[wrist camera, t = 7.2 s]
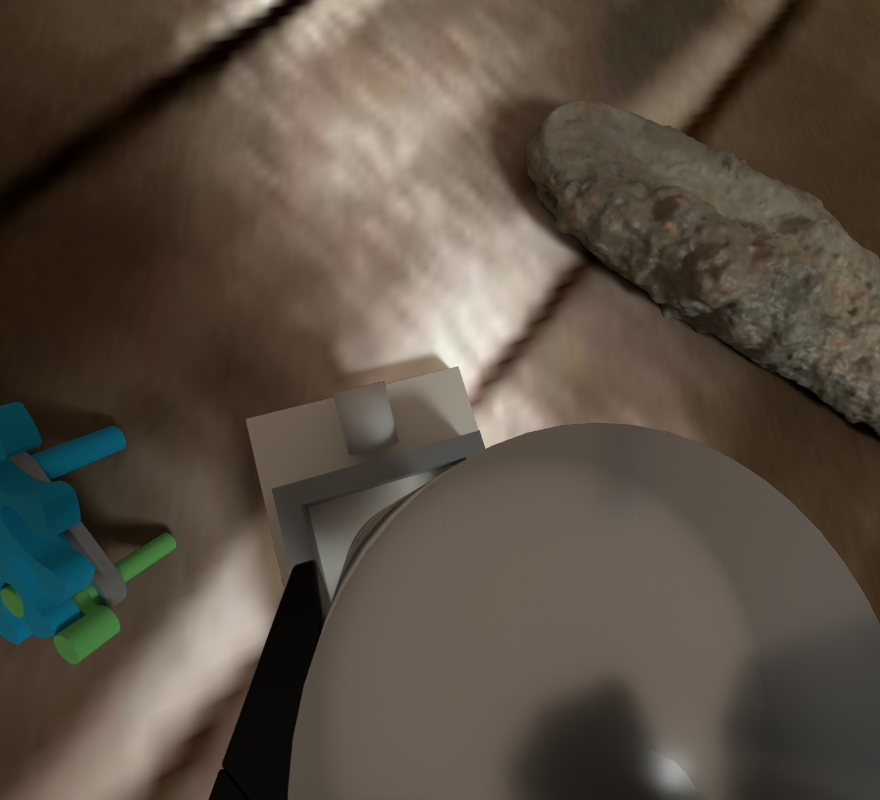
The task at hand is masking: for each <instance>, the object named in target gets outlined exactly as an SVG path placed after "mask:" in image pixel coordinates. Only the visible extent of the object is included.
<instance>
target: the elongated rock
mask: <svg viewBox="0 0 880 800" xmlns="http://www.w3.org/2000/svg"><path fill="white" fill-rule="evenodd" d="M526 160H527V166H528V167H527V168H528V169H527V170H528V175H529V176H530V178H531V179H532V181H533V182H535V186H536V187H537V196H538V199H539V201H540V202H543V203H544V205H545V207H546V208H547V209H548V210H549V211H551V212H552V213H553V215H554V216H555V217H557V221H556V223H555V226H556V228H557V229H558V230H559V231H561V232H562V233H564V234H573V235H574V236H576V237H577V238H578V239H579V240H580V241H581V243H582V244H583V245H584V246H585V247H586V248H587V249H588V250H589V251H590V252H591V253H592V254H594V255H595V256H596V257H597V258H598V259H599V260H601V261H602V262H603V264H604V265H605V266H606V267H607V268H609V269H610V270H614V271H616V272H617V273H618V274H619V275H621V276H623V277H624V278H626V279H628V280H630V281H631V282H632V283H633V284H634V285H635V286H638V287H640V288H642V289H644V290H645V291H647V292H648V293H649V295H650V297H651V299H652V300H653V301H654V302H655V303H656V304H660V305H661V310H662V315H663V317H664V318H665V319H678V320H685V321H686V322H688V323H689V324H690V325H691V326H692V327H693V328H694V329H695V331H696V332H697V333H709V334H713V335H715V336H716V337H718V338H719V339H721V340H722V341H724V342H725V343H727V344H728V345H730V346H731V347H732V348H733V349H735V350H737V351H738V352H740V353H742V354H743V355H745V356H747V357H748V358H750V359H751V360H752V361H753V362H756V363H757V364H758V365H760V366H761V367H762V368H766V369H769V370H770V372H776V373H778V374H780V375H781V376H783V377H785V378H787V379H789V380H794V381H796V382H797V384H798V385H801V386H804V387H806V388H808V389H810V390H812V391H813V392H814V393H816V394H817V396H818V397H819V398H820V399H821V400H822V401H823V402H825V403H827V404H829V405H830V406H831V407H832V408H833V409H834V410H835V411H837V412H840V413H841V414H843V415H844V417H845V419H846V420H848V421H849V422H851V423H857V422H863V423H865V424H867V425H868V426H869V427H871V428H873V429H874V431H875V432H877V434H878V435H879V437H880V259H879V258H878V256H877V255H876V254H875V253H873V252H872V251H870V250H867V249H865V248H864V247H862V246H861V245H859V244H858V243H857V242H856V241H855V240H853V239H852V238H851V237H850V236H849V235H848V234H847V232H846V231H845V230H844V229H843V228H842V227H841V224H840V222H839V221H838V220H836V218H835V217H834V216H833V215H831V214H830V213H829V212H828V211H827V210H826V209H825V208H824V207H823V203H822V201H821V200H819V199H818V198H817V197H816V196H814V195H812V194H810V193H808V192H806V191H801V190H799V189H796V188H795V187H793V186H790V185H788V184H783V183H782V182H781V181H779V180H777V179H773V178H769V177H767V176H766V175H763V174H762V173H760V172H759V171H756V170H753V169H751V168H750V167H749V166H748V165H747V164H746V160H745V159H740V160H738V159H737V158H736V157H735V156H734V154H733V153H732V152H727V151H715V150H713V149H710V148H707V147H706V145H705V144H702V143H700V142H698V141H696V140H695V139H694V138H693V137H689V136H686V134H685V133H683V132H681V131H679V130H677V129H676V128H672V127H671V126H662V125H659V124H657V123H655V122H653V121H651V120H647V119H645V118H644V117H642V116H639V115H637V114H634V113H632V112H629V111H626V110H621V109H618V108H615V107H613V106H611V105H608V104H603V103H601V102H596V101H583V100H581V101H573V102H567V103H564V104H562V105H559V106H557V107H556V108H555V109H554V110H553V111H551V112H550V113H549V114H548V115H547V117H546V119H545V120H544V121H543V122H542V123H540V125H539V126H538V128H537V133H536V135H535V136H534V138H533V139H532V140H531V141H530V142H529V144H528V145H527V147H526Z"/></svg>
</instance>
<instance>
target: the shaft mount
mask: <svg viewBox="0 0 880 800" xmlns="http://www.w3.org/2000/svg"><path fill="white" fill-rule="evenodd" d="M333 395H334V397H332V398H328V399H324V400H320V401H316V402H312V403H308V404H304V405H300V406H296V407H292V408H288V409H284V410H280V411H276V412H272V413H268V414H264V415H260V416H256V417H252V418H247V419H246V424H247V428H248V432H249V437H250V441H251V445H252V450H253V454H254V458H255V463H256V467H257V472H258V476H259V480H260V485H261V489H262V493H263V498H264V502H265V506H266V511H267V515H268V520H269V524H270V528H271V533H272V537H273V541H274V546H275V550H276V554H277V559H278V563H279V567H280V572H281V576H282V581H283V585H284V589H285V587H286V585H287V582H288V579H289V576H290V574H291V571H292V569H293V567H294V566H295V565H296V564H299V563H302V562H305V561H308V560H311V559H314V560H316V561H317V563H318V565H319V568H320V571H321V574H322V577H323V580H324V583H325V586H326V589H327V593H328V597H329V602H330V605H331V602H332V599H333V596H334V593H335V590H336V586H337V583H338V580H339V577H340V574H341V571H342V568H343V565H344V562H345V559H346V556H347V553H348V550H349V547H350V545H351V543H352V541H353V539H354V537H355V536H356V534H357V533H358V531H359V530H360V529H361V527H362V526H363V525H364V524H365V523H366V522H367V521H368V520H369V519H370V518H371V517H372V516H374V515H375V514H376V513H378V512H379V511H381V510H383V509H384V508H386V507H387V506H389V505H391V504H393V503H394V502H396V501H397V500H399V499H401V498H402V497H404V496H406V495H407V494H409V493H411V492H412V491H414V490H416V489H417V488H419V487H421V486H422V485H424V484H426V483H427V482H429V481H431V480H432V479H434V478H436V477H437V476H439V475H441V474H442V473H444V472H446V471H447V470H449V469H451V468H452V467H454V466H455V465H457V464H459V463H461V462H463V461H464V460H466V459H468V458H470V457H472V456H474V455H476V454H478V453H480V452H481V451H483V450H485V446H484V443H483V440H482V437H481V434H480V430H478V427H477V424H476V421H475V418H474V414H473V411H472V408H471V405H470V402H469V399H468V396H467V392H466V389H465V386H464V383H463V380H462V377H461V374H460V370H459V367H458V366H457V367H453V368H449V369H445V370H441V371H437V372H433V373H429V374H425V375H421V376H417V377H413V378H409V379H405V380H401V381H397V382H393V383H389V384H385V383H384V381H383V382H378V383H374V384H370V385H366V386H361V387H357V388H353V389H349V390H345V391H341V392H337V393H334V394H333Z"/></svg>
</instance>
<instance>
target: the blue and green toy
mask: <svg viewBox="0 0 880 800" xmlns="http://www.w3.org/2000/svg"><path fill="white" fill-rule="evenodd" d="M41 443H42V439H41V436H40V434H39V431H38V429H37V427H36V425H35V423H34V421H33V420H32V418H31V416H30V415H29V413H28V411H27V410H26V408H25V407H24V405H23V404H22V403H20V402H13V403H10V404H6V405H2V406H0V636H2V637H3V638H5V639H6V640H8V641H10V642H12V643H14V644H16V645H18V644H19V643H21V642H22V641H24V640H25V639H27V638H28V637H30V636H31V635H33V634H34V635H35V636H36V637H39V638H50V637H53V636H55V635H56V634H57V635H56V636H55V637H54V645H55V647H56V649H57V651H58V652H59V654H60V655H61V656H62V657H63V658H64V659H65V660H66V661H67V662H69V663H71V664H77V663H78V662H80V661H81V660H82V659H84V658H85V657H86V656H88V655H89V654H90V653H92V652H93V651H94V650H95V649H97V648H98V647H99V646H101V645H102V644H103V643H105V642H106V641H107V640H109V639H110V638H111V637H113V636H114V635H115V634H117V633H118V632H119V631H120V623H119V620H118V618H117V617H116V615H115V614H114V613H113V612H112V610H110V609H111V608H112V607H113V606H115V605H116V604H118V603H119V602H120V601H122V600H123V599H125V597H126V595H127V588H126V584H125V582H126V581H128V580H129V579H131V578H132V577H134V576H135V575H137V574H138V573H140V572H141V571H143V570H144V569H146V568H147V567H149V566H150V565H152V564H153V563H155V562H156V561H158V560H159V559H160V558H162V557H163V556H165V555H166V554H168V553H169V552H171V551H172V550H174V549H175V548H176V541H175V539H174V538H173V537H172V536H171V535H170V534H169V533H163V534H161V535H160V536H158V537H157V538H155V539H153V540H152V541H150V542H149V543H147V544H145V545H144V546H142V547H141V548H139V549H137V550H136V551H134V552H133V553H131V554H130V555H128V556H126V557H125V558H123V559H122V560H120V561H118V562H117V563H115V564H114V565H113V564H112V562H111V561H110V559H109V558H108V557H107V555H106V554H105V553H104V551H103V550H102V549H101V547H100V546H99V545H98V543H97V542H96V541H95V539H94V538H93V537H92V535H91V534H90V533H89V531H88V530H87V529H86V527H85V526H84V525H83V523H82V522H81V521H80V520H81V514H80V507H79V502H78V499H77V495H76V491H75V489H74V488H73V487H72V486H71V485H69V484H68V483H66V482H64V481H59V480H58V481H55V482H51V481H50V480H52V479H54V478H57V477H59V476H61V475H64V474H66V473H68V472H71V471H73V470H76V469H78V468H80V467H83V466H85V465H87V464H90V463H92V462H95V461H97V460H99V459H102V458H104V457H106V456H109V455H111V454H113V453H116V452H118V451H121V450H123V449H124V448H125V447H126V439H125V436H124V434H123V433H122V431H121V430H120V429H119V428H117V427H116V426H109V427H106V428H104V429H101V430H98V431H95V432H93V433H90V434H87V435H85V436H82V437H79V438H76V439H74V440H71V441H68V442H66V443H63V444H60V445H57V446H55V447H52V448H49V449H46V450H44V451H41V452H38V453H36V454H33V455H29V454H28V453H27V452H26V451H29V450H31V449H34V448H37V447H39V446H40V445H41ZM78 619H79V620H78ZM77 620H78V621H77ZM75 621H76V622H75ZM74 622H75V623H74ZM72 623H73V624H72ZM71 624H72V625H71ZM69 625H71V626H69ZM68 626H69V627H68ZM66 627H68V628H66ZM65 628H66V629H65ZM63 629H65V630H63ZM62 630H63V631H62ZM60 631H62V632H60ZM59 632H60V633H59ZM58 633H59V634H58Z"/></svg>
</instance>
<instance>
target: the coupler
mask: <svg viewBox="0 0 880 800" xmlns="http://www.w3.org/2000/svg"><path fill="white" fill-rule="evenodd" d="M288 800H880V623H879V622H878V620H877V618H876V616H875V614H874V612H873V610H872V608H871V606H870V604H869V602H868V600H867V598H866V596H865V594H864V593H863V591H862V590H861V588H860V586H859V585H858V583H857V582H856V580H855V579H854V577H853V575H852V574H851V572H850V571H849V569H848V568H847V566H846V565H845V563H844V561H843V560H842V559H841V558H840V556H839V555H838V554H837V552H836V551H835V550H834V549H833V547H832V546H831V545H830V544H829V542H828V541H827V540H826V539H825V537H824V536H823V535H822V533H821V532H820V531H819V530H818V529H817V528H816V527H815V526H814V525H813V524H812V523H811V522H810V521H809V520H808V519H807V517H806V516H805V515H804V514H803V513H802V512H801V511H800V510H799V509H798V508H797V507H796V506H795V505H794V504H793V503H792V502H791V501H789V500H788V499H787V498H786V497H785V496H783V495H782V494H781V493H780V492H779V491H777V490H776V489H775V488H774V487H772V486H771V485H770V484H769V483H768V482H766V481H765V480H764V479H763V478H761V477H760V476H758V475H756V474H755V473H753V472H752V471H750V470H749V469H747V468H746V467H744V466H743V465H741V464H739V463H738V462H736V461H735V460H733V459H731V458H729V457H727V456H725V455H723V454H721V453H719V452H717V451H715V450H713V449H711V448H709V447H707V446H705V445H703V444H701V443H698V442H695V441H692V440H689V439H686V438H683V437H680V436H678V435H675V434H672V433H669V432H665V431H660V430H655V429H650V428H645V427H640V426H635V425H626V424H610V423H587V424H573V425H561V426H557V427H552V428H547V429H543V430H538V431H533V432H529V433H525V434H523V435H520V436H517V437H515V438H512V439H509V440H506V441H504V442H501V443H498V444H495V445H493V446H491V447H489V448H487V449H485V450H483V451H481V452H480V453H478V454H476V455H474V456H472V457H470V458H468V459H466V460H464V461H463V462H461V463H459V464H457V465H455V466H454V467H452V468H451V469H449V470H447V471H446V472H444V473H442V474H441V475H439V476H437V477H436V478H434V479H432V480H431V481H429V482H427V483H426V484H424V485H422V486H421V487H419V488H417V489H416V490H414V491H412V492H411V493H409V494H407V495H406V496H404V497H402V498H401V499H399V500H397V501H396V502H394V503H393V504H391V505H389V506H387V507H386V508H384V509H383V510H381V511H379V512H378V513H376V514H375V515H374V516H372V517H371V518H370V519H369V520H368V521H367V522H366V523H365V524H364V525H363V526H362V527H361V529H360V530H359V531H358V533H357V534H356V536H355V537H354V539H353V541H352V543H351V545H350V547H349V550H348V553H347V556H346V559H345V562H344V565H343V568H342V571H341V574H340V577H339V580H338V583H337V586H336V590H335V593H334V596H333V599H332V602H331V605H330V608H329V611H328V614H327V617H326V620H325V623H324V626H323V629H322V632H321V635H320V638H319V641H318V644H317V647H316V650H315V653H314V656H313V659H312V662H311V666H310V669H309V672H308V675H307V678H306V681H305V684H304V688H303V693H302V697H301V702H300V707H299V712H298V716H297V721H296V726H295V731H294V736H293V743H292V754H291V765H290V776H289V787H288Z"/></svg>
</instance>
